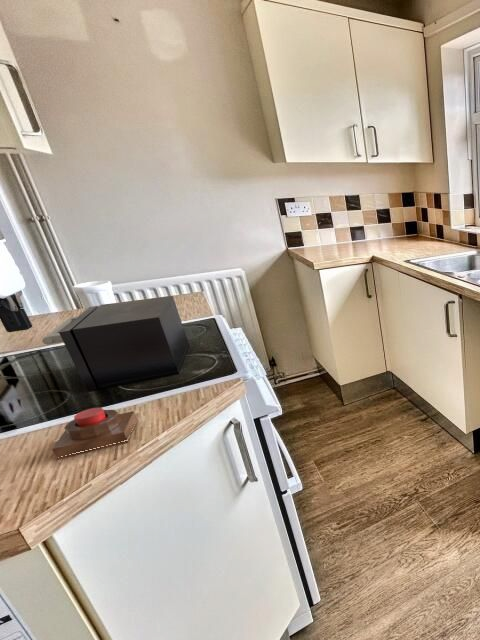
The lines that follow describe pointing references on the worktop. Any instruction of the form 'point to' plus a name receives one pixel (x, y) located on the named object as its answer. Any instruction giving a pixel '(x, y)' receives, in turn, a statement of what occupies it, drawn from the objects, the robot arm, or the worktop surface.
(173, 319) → the oven
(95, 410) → the button
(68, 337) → the oven door
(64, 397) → the worktop surface
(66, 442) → the block
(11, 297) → the robot arm
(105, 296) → the cup
